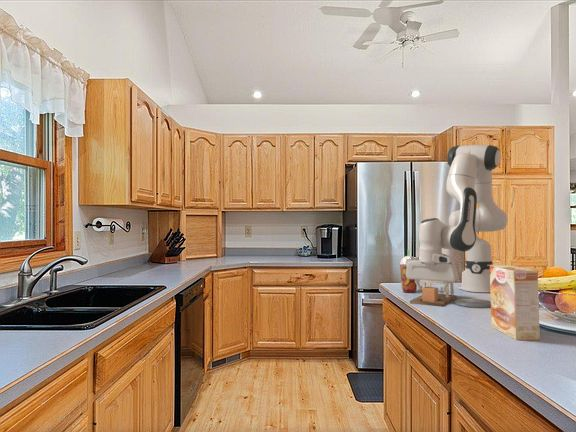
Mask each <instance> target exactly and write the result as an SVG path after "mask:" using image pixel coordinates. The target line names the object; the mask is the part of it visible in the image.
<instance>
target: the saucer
mask: <svg viewBox="0 0 576 432" xmlns="http://www.w3.org/2000/svg"><path fill="white" fill-rule="evenodd" d="M454 305H456V306H459V307H462V308H469V309H470V308H471V309H489V308H490V309H491V300H486V299H481V298H480V299H479V298H478V299H477V298H460V299H459V298H458V299H454Z"/></svg>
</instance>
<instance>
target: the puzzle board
mask: <svg viewBox="0 0 576 432" xmlns="http://www.w3.org/2000/svg"><path fill="white" fill-rule="evenodd" d="M456 299H457V295H455V294H454V295H451V294H449V297H446V293H438V301H437V302H430V301H422V294H421V295H419V296H417V297H415V298H412V299H411V300H409V304H414V305H415V304H416V305H424V306H425V305H426V306H433V307H434V306H435V307H444V306H446V305H447V304H449V303H451V302H452V301H455V300H456Z"/></svg>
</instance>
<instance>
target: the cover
mask: <svg viewBox="0 0 576 432" xmlns="http://www.w3.org/2000/svg"><path fill="white" fill-rule="evenodd" d="M421 281H422V288H424V287H432V284H440V285H441V284H442V285H444V284H443V281H435V280H421ZM426 284H427V285H428V286H427V285H426ZM449 284H450V286H449ZM449 287H450V288H449ZM449 289H450V291H449ZM454 291H455V290H454V282H452V281H448V285H447V286H446V292H445V294H446V297H449V295H455V294H454V293H455V292H454Z"/></svg>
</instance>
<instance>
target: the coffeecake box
mask: <svg viewBox="0 0 576 432" xmlns="http://www.w3.org/2000/svg"><path fill="white" fill-rule="evenodd" d="M538 272H539V270H536V269H535V270H534V269H531V268H527V267H520V266H516V265H513V264H512V265H511V264H504V265H503V264H493V265H490V291H491V292H490V301H491V307H490V315H491V316H490V318H491V319H490V320H491V325H490V327H491V328H492V329H495V330H496V331H499V332H501V333H502V334H504V335H506V336H508V337H510V338H511V339H513V340H515V341H529V340H531V341H539V340H540V339H541V335H540V334H541V333H540V307H539V306H540V304H539V303H540V302H539V298H540V296H539V273H538Z"/></svg>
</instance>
